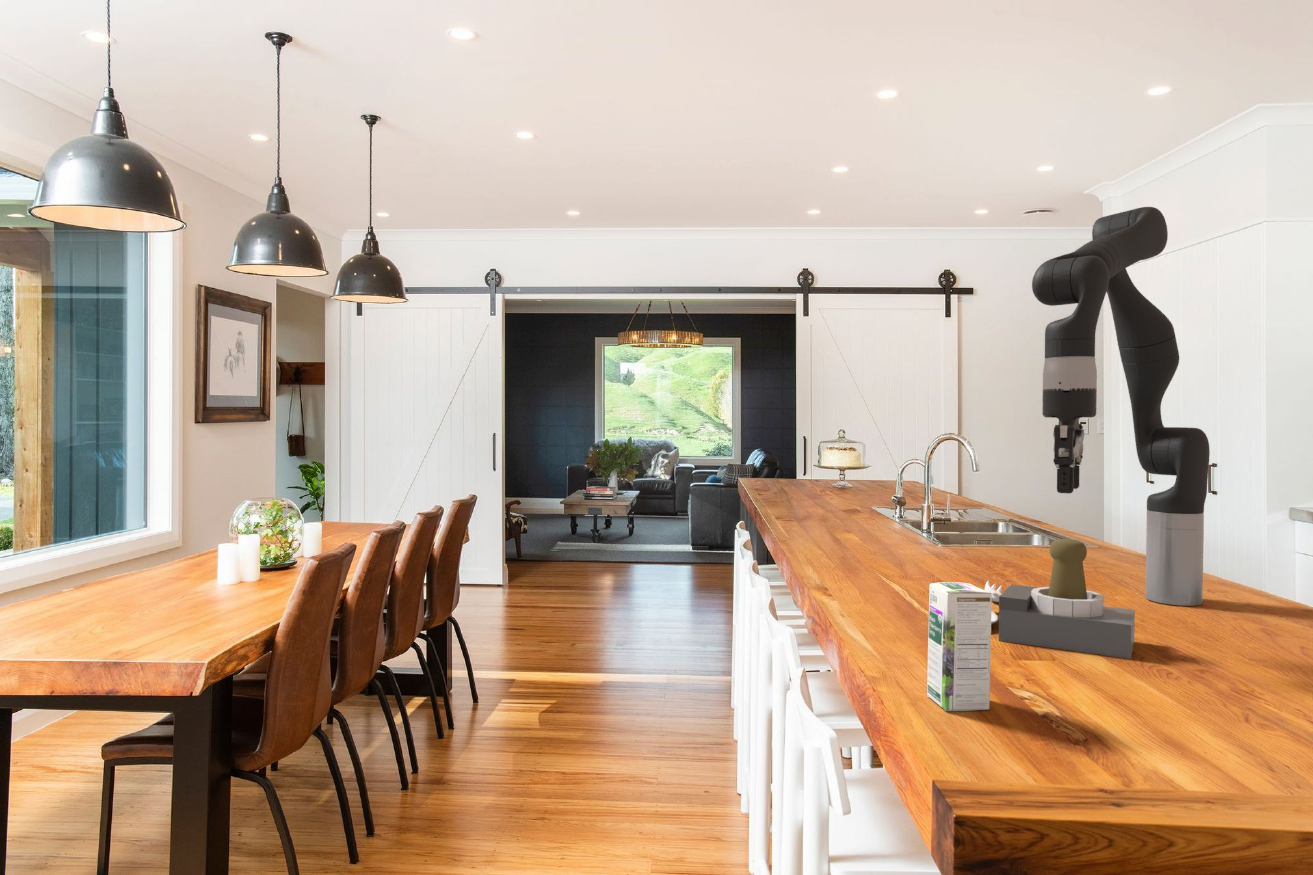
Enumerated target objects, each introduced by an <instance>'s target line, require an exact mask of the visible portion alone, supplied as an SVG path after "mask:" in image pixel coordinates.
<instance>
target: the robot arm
mask: <svg viewBox="0 0 1313 875" xmlns="http://www.w3.org/2000/svg"><path fill="white" fill-rule="evenodd" d="M1168 237H1169V235H1168V225H1167V222H1166V218H1165V216H1164V215H1163V213H1162V211H1161V210H1160V209H1159V208H1157V207H1154V206H1142V207H1136V208H1133V209H1129V210H1126V211H1121V212H1117V213H1114V214H1109V215H1106V216H1102V217H1099V218H1097V219H1096V220H1095V222H1094V223H1093V225H1092V231H1091V240H1090V241H1089V242H1086V243H1084V244H1083V245H1082V246H1080V247H1079V248H1077V249H1076V250H1074V251H1072V252H1069V253H1066V254H1062V255H1059V256H1056V257H1053V258H1050V259H1048V260H1046V261H1044V262H1043V263H1042V264H1040V265H1039V266H1038V267H1037V268H1036V270H1035V272H1034V275H1033V277H1032V280H1031V288H1032V289H1031V290H1032V293H1033V295H1034V297H1035V298H1036V300H1037V301H1038V302H1040V303H1041V304H1043V305H1046V306H1050V307H1051V306H1053V307H1055V306H1062V305H1063V306H1064V305H1073V304H1074V305H1075V304H1077V306H1076V307H1075V308H1074V309H1075V310H1074V311H1073V312H1072V313H1071V314H1070V315H1068V316H1066V317H1063V318H1060V319H1055V320H1054V321H1051V322H1049V323H1047V325H1046V327H1045V330H1044V362H1043V363H1044V364H1043V369H1042V371H1043V372H1042V416H1043V417H1044V418H1049V419H1050V418H1053V419H1054V418H1055V419H1058V424H1055V425H1054V428H1053V433H1052V434H1053V440H1054V441H1053V442H1054V443H1053V455H1054V456H1053V457H1054V458H1053V459H1052V460H1053V464H1054V466H1055V469H1056V492H1057V493H1059V494H1072V493H1074V490H1077V489H1079V488H1080V466H1081V465H1082V459H1083V454H1084V439H1085V430H1084V427H1083V424H1082V423H1080V419H1081V418H1094V417H1096V415H1097V394H1098V393H1097V392H1098V391H1097V390H1098V389H1097V388H1098V387H1097V385H1098V384H1097V383H1098V382H1097V381H1098V380H1097V379H1098V375H1097V372H1098V371H1097V365H1096V331H1097V326H1098V320H1099V316H1100V313H1101V310H1102V306H1103V302H1104V300H1105V298H1106V295H1107V298H1108V301H1109V304H1110V310H1111V315H1112V319H1113V324H1114V329H1115V335H1116V341H1117V346H1118V350H1119V356H1120V360H1121V361H1120V362H1121V364H1122V368H1123V369H1122V370H1123V373H1124V376H1125V380H1126V381H1125V382H1126V384H1127V390H1128V396H1129V399H1130V405H1131V414H1132V422H1133V432H1134V440H1135V442H1134V443H1135V450H1136V454H1137V455H1136V456H1137V459H1138V461H1139V464H1140V466H1141V468H1142V469H1143V470H1144V472H1146V473H1148V474H1152V475H1161V476H1175V482H1174V484H1173V486H1172V487H1169V488H1168V489H1166V490H1163V491H1160V492H1156V493H1153V494H1152V493H1151V494H1150V495H1148V496H1147V499H1146V538H1145V539H1146V540H1145V541H1146V542H1145V543H1146V544H1145V547H1146V548H1145V553H1146V554H1145V599H1146V600H1148V601H1152V602H1155V603H1159V604H1165V605H1173V606H1187V607H1190V606H1200V605H1202V604H1203V595H1204V594H1203V584H1204V541H1205V540H1204V539H1205V538H1204V537H1205V536H1204V535H1205V534H1204V532H1205V531H1204V529H1205V528H1204V527H1205V524H1204V523H1205V505H1206V503H1205V502H1206V498H1207V493H1208V481H1209V480H1208V478H1209V477H1208V476H1209V469H1210V468H1209V467H1210V442H1209V439H1208V438H1209V437H1207V434H1206V433H1205V432H1204V431H1203V430H1202V429H1200V428H1198V427H1185V426H1184V427H1182V426H1180V427H1179V426H1178V427H1176V426H1175V427H1174V426H1173V427H1172V426H1171V427H1170V426H1166V427H1165V425H1164V424H1163V420H1162V412H1161V411H1162V410H1161V409H1162V401H1163V399H1164V395H1165V393H1166V391H1167V390H1168V387H1169V385H1170V383H1171V382H1172V380H1173V378H1174V376H1175V374H1176V372H1177V370H1178V367H1179V363H1180V352H1179V348H1178V343H1177V338H1176V332H1175V328H1174V326H1173V323H1172V322H1171V320H1170V319H1169V317H1167V315H1165V314H1164V313H1163V312H1162V311H1161V310H1160V309H1159V308H1158V307H1157V306H1156V305H1155V304H1153V303H1152V302H1151V301H1150V300H1149V299H1148V298H1147V297H1146V296H1144V295H1143V293H1141V291H1140V290H1139V289H1138V288H1137V287H1136V285H1135V284H1134V282H1133V281H1132V278H1131V277H1130V275H1129V273H1128V271H1127V268H1128V267H1131V266H1132V265H1134V264H1136V263H1138V262H1140V261H1145V260H1149V259H1151V258H1154V257H1157V256H1159V255H1160V254H1162V253H1163V251H1164V250H1165V248H1166V246H1167V244H1168V243H1167V242H1168Z"/></svg>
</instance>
